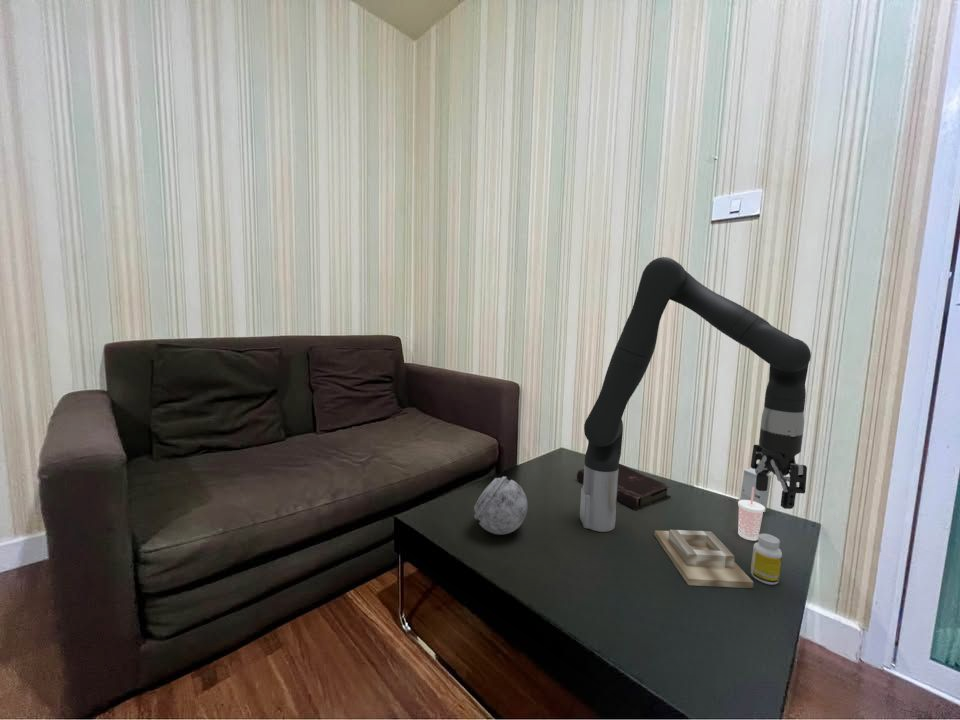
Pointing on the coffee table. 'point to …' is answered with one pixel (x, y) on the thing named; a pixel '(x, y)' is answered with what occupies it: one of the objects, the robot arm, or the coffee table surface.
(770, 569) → the supplement bottle
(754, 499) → the skincare box
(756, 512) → the beverage cup
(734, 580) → the socket board
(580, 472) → the diary
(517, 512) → the decorative orb
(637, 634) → the coffee table surface
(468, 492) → the coffee table surface
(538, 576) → the coffee table surface
